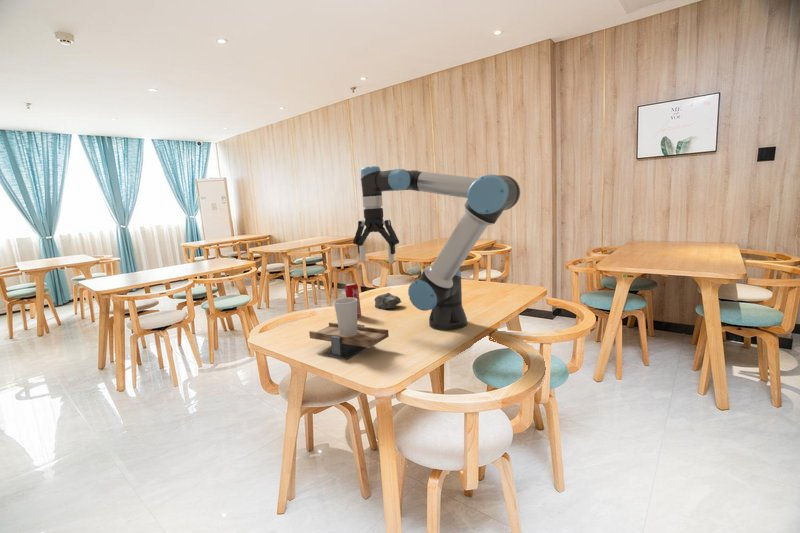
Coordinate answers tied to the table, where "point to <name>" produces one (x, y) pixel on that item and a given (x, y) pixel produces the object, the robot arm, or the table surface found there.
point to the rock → (386, 301)
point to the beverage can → (353, 295)
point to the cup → (346, 316)
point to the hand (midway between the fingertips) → (377, 262)
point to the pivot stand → (343, 348)
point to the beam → (363, 338)
